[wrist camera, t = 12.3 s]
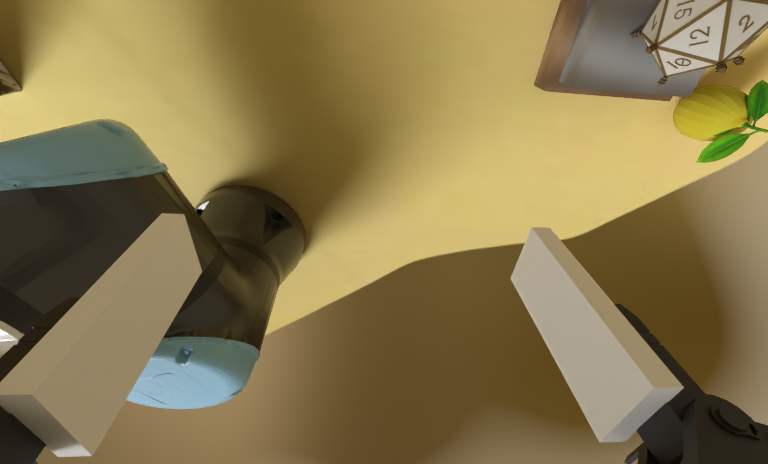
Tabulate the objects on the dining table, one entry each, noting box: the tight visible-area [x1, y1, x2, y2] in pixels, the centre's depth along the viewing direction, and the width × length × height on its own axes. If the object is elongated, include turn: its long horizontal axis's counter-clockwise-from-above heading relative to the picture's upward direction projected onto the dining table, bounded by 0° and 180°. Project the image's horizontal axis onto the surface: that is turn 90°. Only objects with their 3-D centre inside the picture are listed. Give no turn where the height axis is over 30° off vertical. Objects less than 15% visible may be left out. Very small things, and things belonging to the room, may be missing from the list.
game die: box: [629, 0, 768, 87], centre depth 25 cm, size 9×8×10 cm
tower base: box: [534, 0, 706, 101], centre depth 31 cm, size 14×14×6 cm
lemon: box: [673, 80, 768, 163], centre depth 35 cm, size 7×6×10 cm
